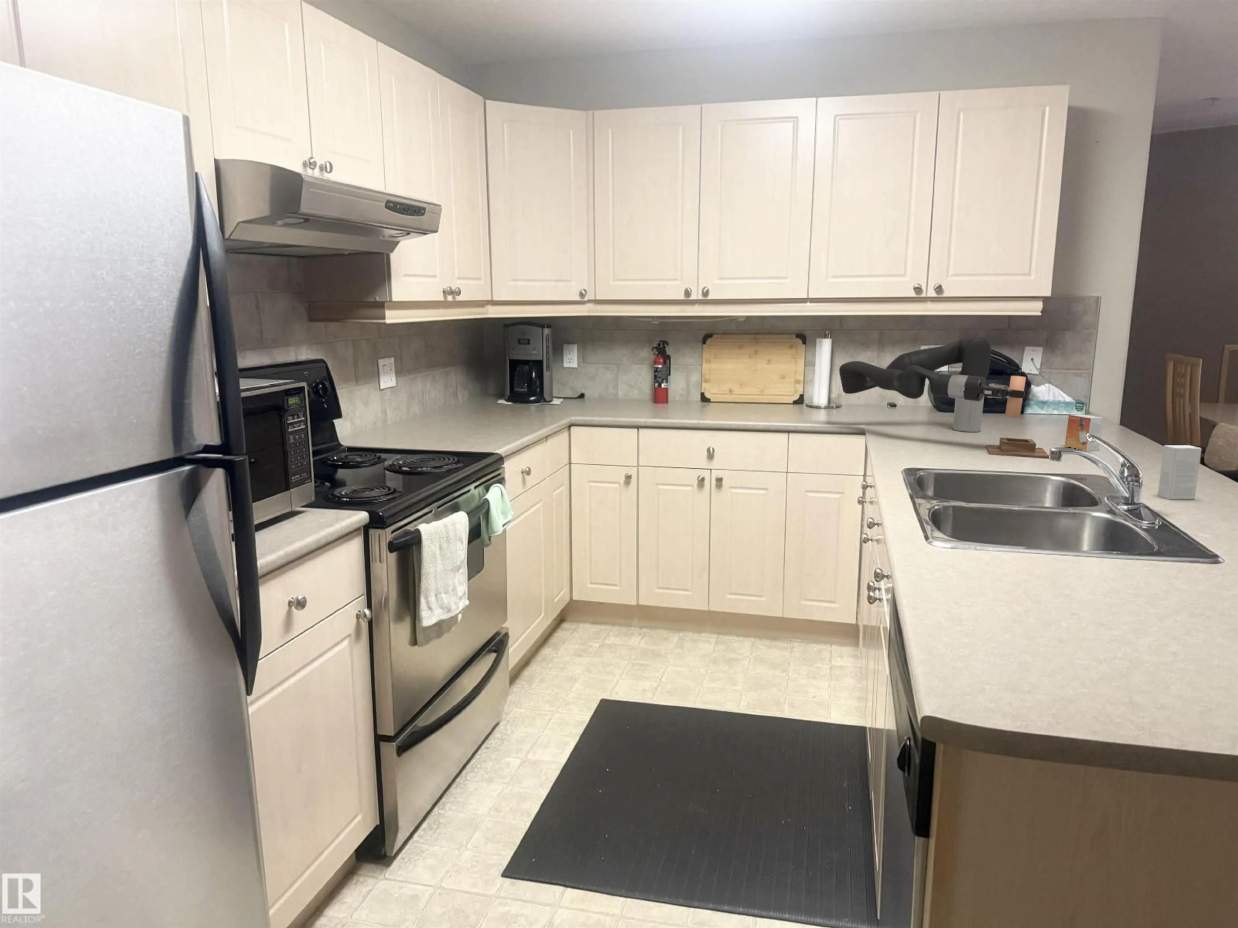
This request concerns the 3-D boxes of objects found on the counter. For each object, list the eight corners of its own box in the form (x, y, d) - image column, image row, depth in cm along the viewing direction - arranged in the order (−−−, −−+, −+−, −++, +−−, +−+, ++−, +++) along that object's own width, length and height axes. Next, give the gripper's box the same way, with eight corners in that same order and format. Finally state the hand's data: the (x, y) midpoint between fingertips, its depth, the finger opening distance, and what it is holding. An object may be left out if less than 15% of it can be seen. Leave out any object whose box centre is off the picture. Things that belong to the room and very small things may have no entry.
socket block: (985, 446, 252) (986, 435, 252) (1042, 450, 247) (1043, 438, 246) (989, 454, 238) (990, 442, 237) (1049, 458, 232) (1051, 446, 232)
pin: (1004, 415, 244) (1010, 375, 241) (1018, 416, 242) (1025, 376, 240) (1005, 416, 240) (1011, 376, 237) (1020, 418, 239) (1026, 378, 236)
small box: (1063, 447, 253) (1067, 414, 251) (1076, 446, 255) (1081, 413, 253) (1086, 451, 246) (1090, 417, 244) (1099, 450, 248) (1104, 417, 246)
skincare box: (1181, 495, 186) (1189, 445, 184) (1194, 499, 182) (1202, 448, 180) (1155, 495, 186) (1163, 444, 184) (1168, 499, 182) (1176, 447, 180)
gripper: (971, 398, 255) (1030, 404, 244) (957, 401, 244) (1017, 408, 233) (975, 374, 253) (1034, 380, 242) (960, 377, 242) (1021, 383, 232)
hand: (1025, 394), depth 238 cm, fingers closed on pin, 4 cm apart
